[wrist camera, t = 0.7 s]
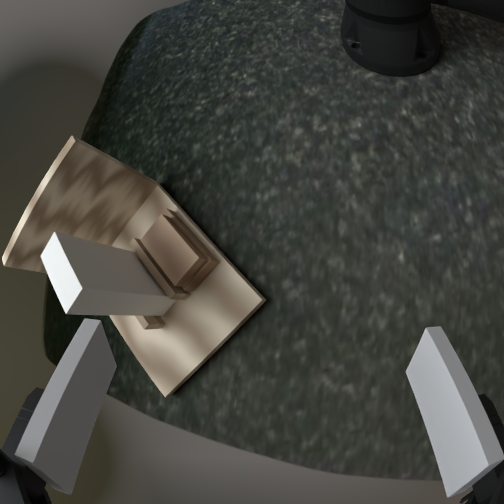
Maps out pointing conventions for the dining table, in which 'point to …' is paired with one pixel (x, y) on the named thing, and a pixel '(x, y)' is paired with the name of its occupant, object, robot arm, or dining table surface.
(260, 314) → the dining table surface
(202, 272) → the walnut offcuts
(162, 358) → the maple rack
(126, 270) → the white block
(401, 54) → the robot arm
